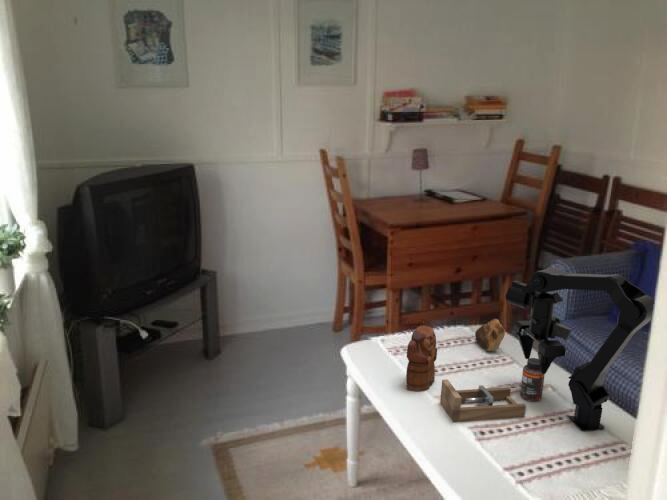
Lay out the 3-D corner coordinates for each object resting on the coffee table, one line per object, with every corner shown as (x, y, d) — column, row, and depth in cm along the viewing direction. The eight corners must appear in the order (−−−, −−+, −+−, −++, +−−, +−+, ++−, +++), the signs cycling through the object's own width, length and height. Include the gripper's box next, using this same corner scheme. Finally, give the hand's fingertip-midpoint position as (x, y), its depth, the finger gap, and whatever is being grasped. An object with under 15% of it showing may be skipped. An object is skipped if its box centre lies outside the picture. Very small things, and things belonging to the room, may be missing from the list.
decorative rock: (504, 354, 196) (508, 324, 193) (487, 356, 195) (491, 325, 192) (487, 339, 207) (490, 310, 205) (471, 341, 206) (474, 311, 203)
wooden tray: (524, 417, 159) (527, 393, 157) (453, 422, 155) (455, 398, 153) (507, 398, 168) (510, 376, 166) (440, 402, 165) (442, 379, 163)
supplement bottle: (538, 392, 172) (543, 357, 169) (543, 403, 166) (549, 366, 163) (517, 391, 172) (522, 355, 169) (521, 401, 167) (526, 364, 164)
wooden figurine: (422, 395, 168) (427, 336, 163) (402, 389, 171) (406, 331, 167) (438, 379, 178) (443, 323, 173) (418, 373, 181) (423, 318, 176)
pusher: (491, 414, 158) (493, 397, 157) (469, 416, 157) (471, 399, 156) (481, 401, 165) (482, 385, 164) (459, 402, 164) (461, 386, 163)
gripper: (588, 325, 155) (580, 380, 159) (551, 301, 173) (544, 350, 177) (549, 327, 153) (541, 382, 157) (515, 302, 171) (509, 352, 175)
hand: (535, 366), depth 167 cm, fingers open, 9 cm apart
